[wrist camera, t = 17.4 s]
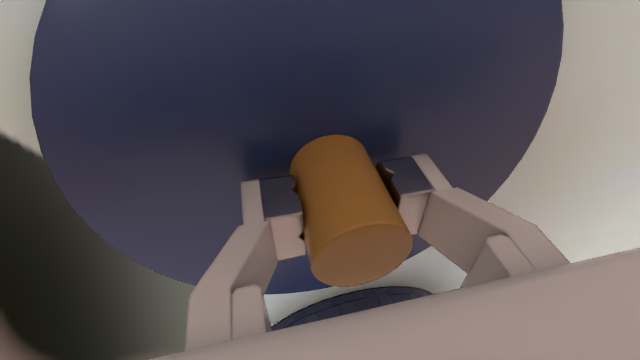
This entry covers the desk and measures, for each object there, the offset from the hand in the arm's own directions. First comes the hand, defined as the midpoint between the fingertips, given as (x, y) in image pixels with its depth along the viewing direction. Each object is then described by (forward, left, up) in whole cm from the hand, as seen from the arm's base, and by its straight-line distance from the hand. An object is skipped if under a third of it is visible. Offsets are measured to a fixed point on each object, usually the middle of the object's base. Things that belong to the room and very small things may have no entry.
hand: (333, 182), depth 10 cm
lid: (0, 0, -1) cm, 1 cm away
